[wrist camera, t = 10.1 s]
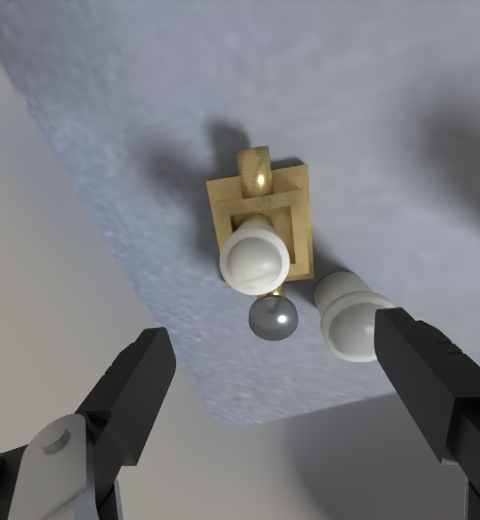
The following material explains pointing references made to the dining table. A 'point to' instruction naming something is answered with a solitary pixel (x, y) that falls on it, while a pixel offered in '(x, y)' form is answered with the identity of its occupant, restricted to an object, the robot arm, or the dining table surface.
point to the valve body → (283, 219)
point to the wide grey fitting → (348, 315)
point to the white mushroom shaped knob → (254, 257)
